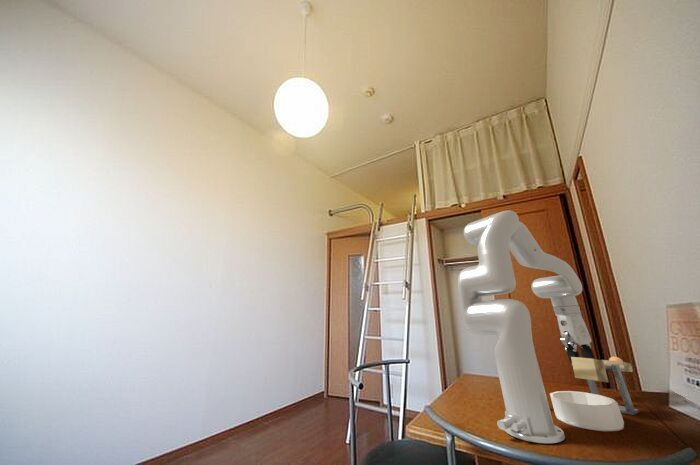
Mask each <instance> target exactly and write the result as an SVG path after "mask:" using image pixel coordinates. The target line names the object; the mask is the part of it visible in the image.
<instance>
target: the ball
mask: <svg viewBox="0 0 700 465" xmlns="http://www.w3.org/2000/svg"><path fill="white" fill-rule="evenodd" d="M608 360H609V361H620V362H624V360H623V359H621V358H620V357H618V356H611V357H609V358H608Z"/></svg>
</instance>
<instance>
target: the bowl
mask: <svg viewBox="0 0 700 465" xmlns="http://www.w3.org/2000/svg"><path fill="white" fill-rule="evenodd" d="M549 396H550V400H551V403H552V407H553V408H552V409H553V411H554V414H555V418H556V419H557V420H558V421H560V422H562V423H564V424H567V425H569V426H572V427H576V428H580V429H586V430H589V431H596V432H597V431H598V432H618V431H622V430H624V429H625V421H624V418H623V415H622V413H621V412H620V409H619V406H620V405H619V403H618V402H617V401H616V400H615V399H614V398H611V397H608V396H605V395H601V394H599V395H597V394H592V393H591V392H590V393H589V392H584V391H574V390H573V391H572V390H567V391H566V390H562V391H561V390H560V391H553V392H550V393H549ZM618 405H619V406H618Z"/></svg>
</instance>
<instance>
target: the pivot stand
mask: <svg viewBox="0 0 700 465" xmlns="http://www.w3.org/2000/svg"><path fill="white" fill-rule="evenodd" d="M611 367H612V370H613V371H612V370H611V371H612V372H613V375H614V378H615V381H616V384H617V386H618V390H619V393H620V396H621V399H622V402H623V406H622V405H619V404H618V406H619V409H620V412H621V414H626V415H632V416H634V415H636V414H638V413H640V410H639V409H638V408H635V407H634V404H633V402H632V399H631V396H630V392H629V390H628V387H627V384H626V381H625V378H624V375H623V372H621V370H620V367H619V365H617V364H613V365H611ZM586 382H587V385H588V388H589V392H590V393H592V394H597V395H600V393H599V391H598V390H599V389H598V387H597V384H596V381H595V380H588V379H586Z"/></svg>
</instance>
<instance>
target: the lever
mask: <svg viewBox="0 0 700 465" xmlns="http://www.w3.org/2000/svg"><path fill="white" fill-rule="evenodd" d="M571 360H572V364H571V366H572V367H573V368H572V369H573V374H574V378H575V379H582V380H587V379H588V380H595V382H603V383H609V378H608V375H607V371H612V372H613V370H612V367H611V365H613V364H617V365H619V367H620V370H621V373H626V372H628V373H629V372H630V373H633V372H634V370H633V366H632V363H631V362H625V361H623V362H620V361H609V359H607V360H606V359H596V358H595V359H591V358H583V357H580V358H579V357H571Z"/></svg>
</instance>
